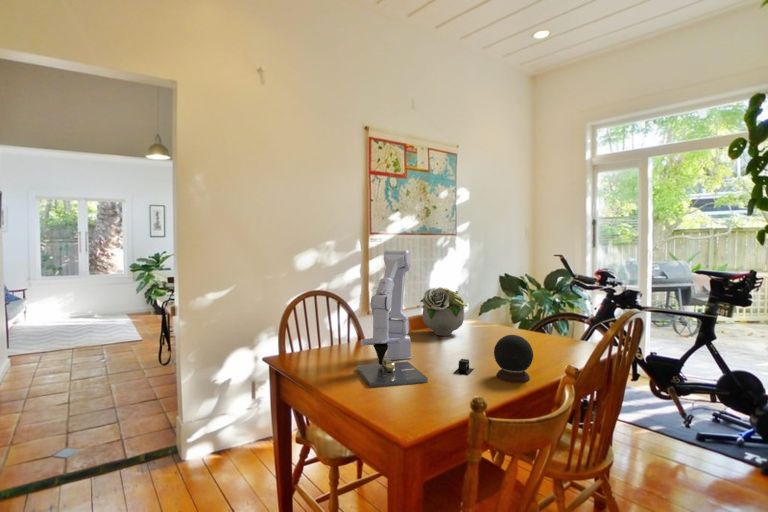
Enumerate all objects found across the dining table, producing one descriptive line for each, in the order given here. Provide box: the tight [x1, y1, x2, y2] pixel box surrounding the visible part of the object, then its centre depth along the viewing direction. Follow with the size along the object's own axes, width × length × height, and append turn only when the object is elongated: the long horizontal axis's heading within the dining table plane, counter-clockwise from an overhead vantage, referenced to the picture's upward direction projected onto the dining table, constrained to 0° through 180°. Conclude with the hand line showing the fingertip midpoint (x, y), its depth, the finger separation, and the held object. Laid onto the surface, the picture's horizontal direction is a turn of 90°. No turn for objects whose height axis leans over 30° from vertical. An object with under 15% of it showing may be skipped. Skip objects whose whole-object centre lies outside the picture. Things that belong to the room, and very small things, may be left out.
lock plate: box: [356, 361, 429, 388], centre depth 147 cm, size 20×20×2 cm
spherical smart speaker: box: [493, 334, 534, 384], centre depth 146 cm, size 13×13×15 cm
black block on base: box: [453, 358, 475, 377], centre depth 153 cm, size 12×7×5 cm, turn 154°
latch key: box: [382, 356, 395, 372], centre depth 151 cm, size 11×3×2 cm, turn 15°
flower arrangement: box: [420, 287, 469, 337], centre depth 214 cm, size 25×25×24 cm
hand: (380, 364), depth 153 cm, fingers closed
